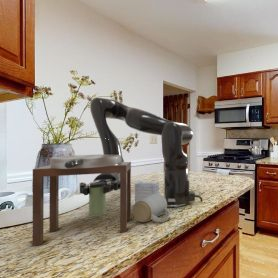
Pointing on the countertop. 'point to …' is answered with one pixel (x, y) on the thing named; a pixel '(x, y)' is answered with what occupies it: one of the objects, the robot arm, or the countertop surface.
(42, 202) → the pan stand
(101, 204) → the spice bottle
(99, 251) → the countertop surface
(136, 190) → the medicine box
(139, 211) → the ceramic mug
